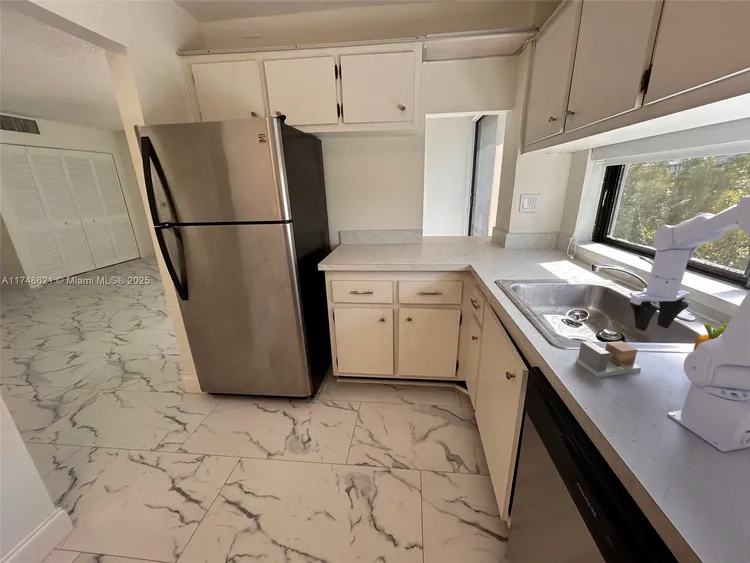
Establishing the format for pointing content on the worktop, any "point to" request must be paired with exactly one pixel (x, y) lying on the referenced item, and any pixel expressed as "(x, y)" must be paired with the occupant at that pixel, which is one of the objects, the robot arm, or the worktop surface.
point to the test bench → (608, 371)
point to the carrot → (710, 334)
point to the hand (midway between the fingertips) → (651, 327)
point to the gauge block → (621, 354)
